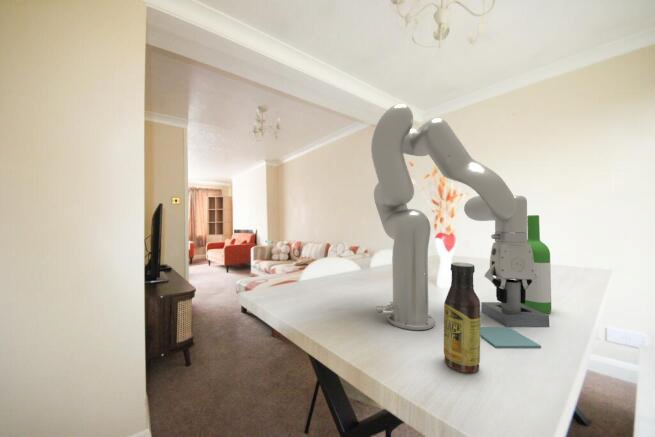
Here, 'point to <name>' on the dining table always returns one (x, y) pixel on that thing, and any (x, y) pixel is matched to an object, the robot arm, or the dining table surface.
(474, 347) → the sauce bottle
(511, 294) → the grey cylinder
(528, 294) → the wine bottle
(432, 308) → the dining table surface
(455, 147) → the robot arm
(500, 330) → the mat
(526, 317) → the socket block
